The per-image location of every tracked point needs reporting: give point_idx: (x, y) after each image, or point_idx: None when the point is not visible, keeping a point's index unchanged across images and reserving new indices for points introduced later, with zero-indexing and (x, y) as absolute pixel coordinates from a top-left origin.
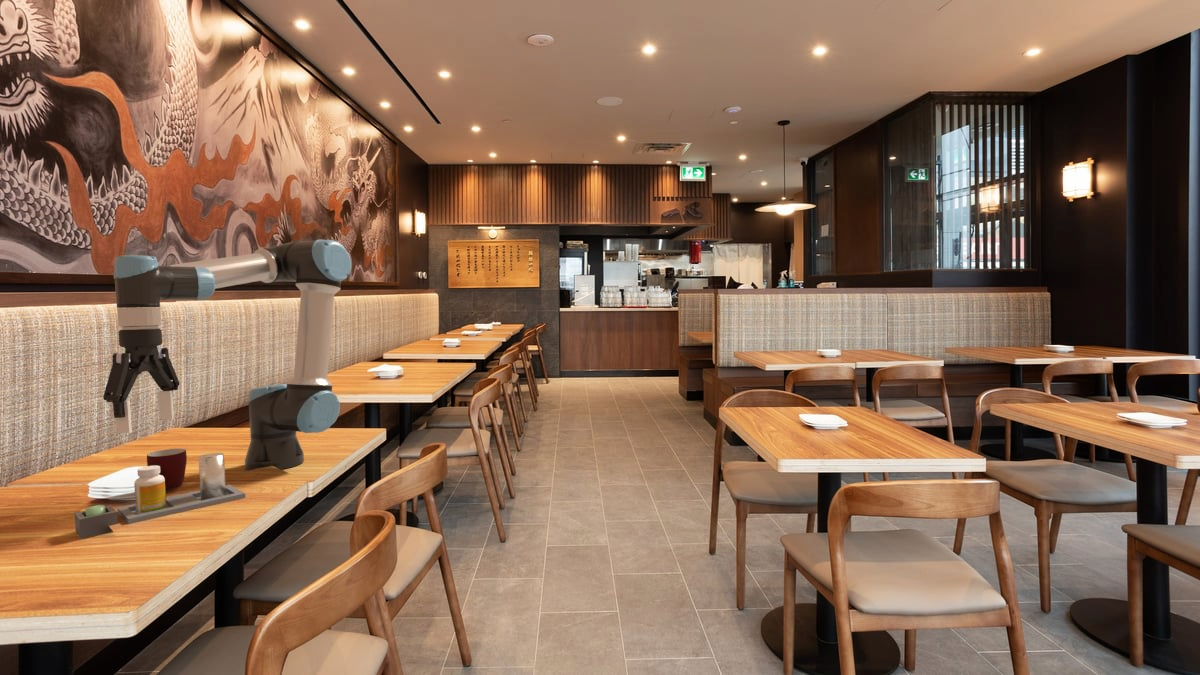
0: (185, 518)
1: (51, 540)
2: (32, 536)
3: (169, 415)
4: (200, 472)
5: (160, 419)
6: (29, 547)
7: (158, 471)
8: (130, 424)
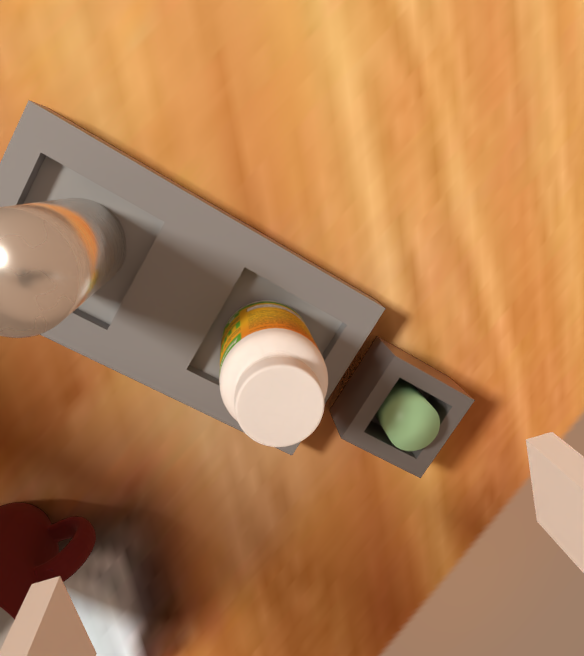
0: (241, 215)
1: (463, 445)
2: (442, 521)
3: (54, 622)
4: (97, 280)
5: (94, 652)
6: (510, 449)
7: (268, 358)
8: (571, 470)
